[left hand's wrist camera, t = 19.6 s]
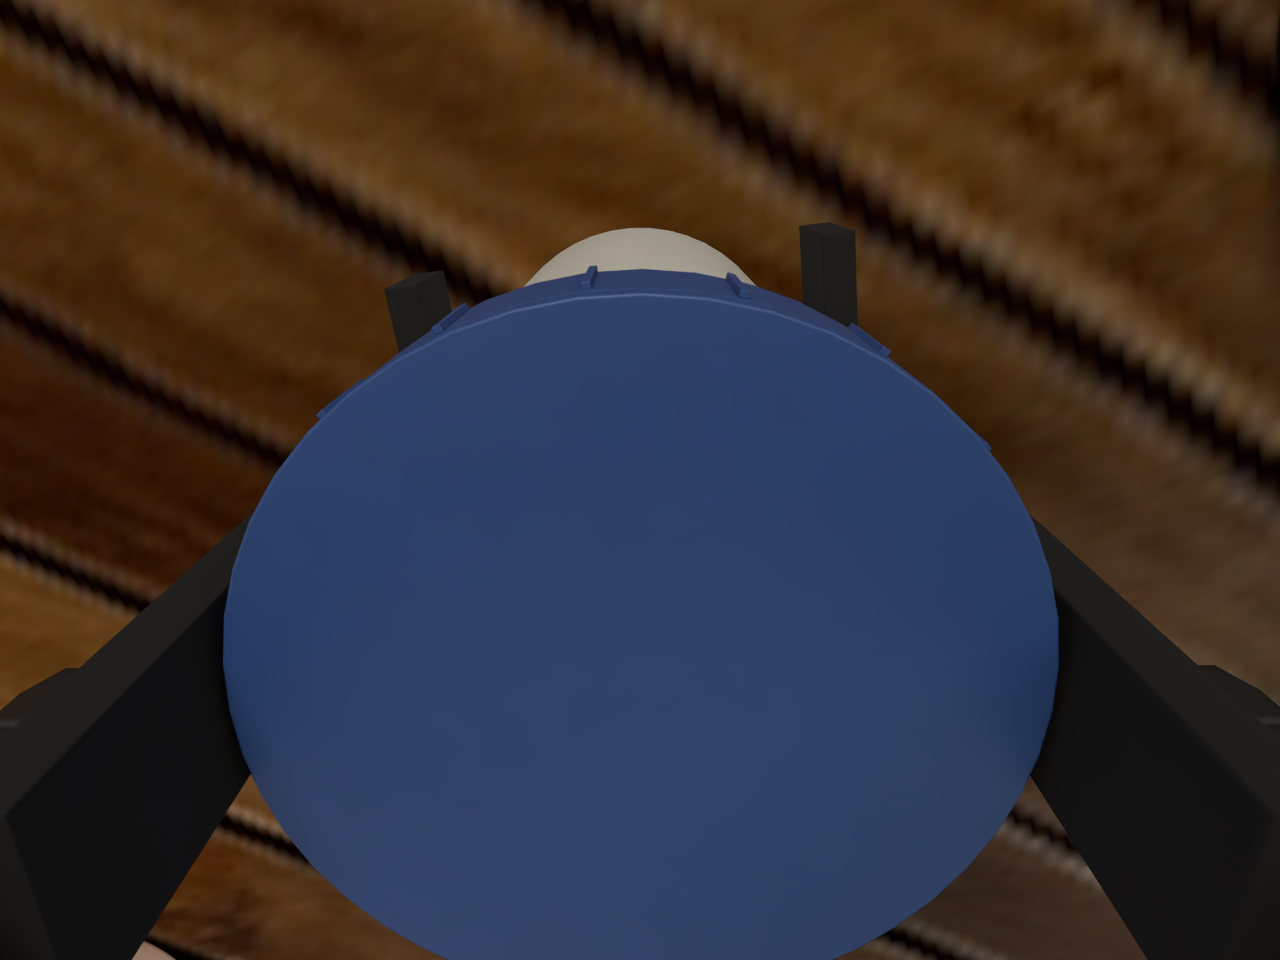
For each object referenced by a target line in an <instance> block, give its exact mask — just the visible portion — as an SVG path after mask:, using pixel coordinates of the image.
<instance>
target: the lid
mask: <svg viewBox="0 0 1280 960" xmlns="http://www.w3.org/2000/svg"><path fill="white" fill-rule="evenodd" d="M890 352H891V351H890V350H889V349H887V348H886V347H884V346H883V345H882V344H880V343H879V342H878V341H876V340H875V339H874V338H872V337H871V336H870V335H868V334H867V333H866V332H864V331H863V330H862V329H860V328H859V327H858V326H856V325H855V324H853V323H851V324H850V326H849V327H848V328H847V327H846V326H844V325H843V324H841V323H839V322H837V321H835V320H833V319H831V318H829V317H827V316H825V315H824V314H822V313H820V312H818V311H816V310H814V309H812V308H810V307H808V306H806V305H804V304H802V303H800V302H799V301H796V300H793V299H790V298H788V297H785V296H782V295H779V294H776V293H774V292H771V291H768V290H765V289H762V288H759V287H757V286H754V285H751V284H748V283H743V282H741V280H740V279H739V278H738V277H737V276H736V275H735V274H733V273H729V272H727V275H726V279H724V278H719V277H715V276H710V275H705V274H700V273H694V272H680V271H666V270H652V269H632V270H616V271H601V272H598V269H597V266H596V265H595V266H589V267H588V269H587V271H586V273H582V274H577V275H572V276H568V277H563V278H558V279H553V280H548V281H543V282H538V283H534V284H531V285H528V286H526V287H523V288H520V289H517V290H514V291H511V292H508V293H505V294H503V295H500V296H497V297H494V298H491V299H488V300H486V301H484V302H482V303H480V304H478V305H476V306H474V307H472V308H470V309H469V307H468V306H467V304H466V303H464V304H462V305H460V306H459V307H457V308H456V309H455V310H454V311H452V312H451V313H450V314H449V315H447V316H446V317H445V318H443V319H442V320H441V321H440V322H438V323H437V324H436V325H435V326H433V327H432V330H431V331H429V332H428V333H427V334H425V335H424V336H422V337H421V338H419V339H418V340H417V341H415V342H414V343H412V344H411V345H410V346H408V347H407V348H405V349H404V350H402V351H401V352H400V353H398V354H397V355H396V356H395V357H393V358H392V359H391V360H389V361H388V362H387V363H386V364H384V365H383V366H382V367H381V368H379V369H378V370H377V371H375V372H374V373H373V374H372V375H370V376H369V377H368V378H366V379H365V380H364V379H361V380H360V381H359V382H357V383H356V384H355V385H353V386H352V387H351V388H349V389H348V390H347V391H346V392H344V393H343V394H342V395H340V396H339V397H338V398H336V399H335V400H334V401H333V402H331V403H330V404H329V405H327V406H326V407H325V408H324V409H322V410H321V411H320V412H319V413H318V414H317V417H318V418H319V419H320V420H319V421H318V422H317V423H316V424H315V425H314V426H313V427H312V428H311V429H310V430H309V431H308V432H307V433H306V435H305V436H304V437H303V439H302V440H301V441H300V442H299V444H298V445H297V446H296V448H295V449H294V450H293V451H292V453H291V454H290V455H289V457H288V458H287V459H286V461H285V462H284V463H283V464H282V466H281V467H280V468H279V470H278V471H277V472H276V474H275V475H274V477H273V479H272V480H271V482H270V484H269V486H268V488H267V490H266V491H265V493H264V495H263V497H262V499H261V501H260V502H259V504H258V506H257V508H256V510H255V512H254V513H253V515H252V517H251V519H250V521H249V524H248V526H247V529H246V532H245V535H244V538H243V540H242V543H241V546H240V549H239V552H238V555H237V557H236V560H235V563H234V566H233V569H232V575H231V580H230V586H229V591H228V597H227V602H226V608H225V613H224V639H223V668H224V675H225V683H226V690H227V697H228V705H229V711H230V714H231V718H232V721H233V725H234V728H235V731H236V735H237V738H238V742H239V745H240V748H241V752H242V755H243V757H244V759H245V761H246V763H247V765H248V768H249V770H250V772H251V774H252V776H253V779H254V781H255V783H256V785H257V787H258V789H259V792H260V794H261V796H262V797H263V799H264V800H265V802H266V803H267V805H268V807H269V808H270V810H271V811H272V813H273V814H274V816H275V818H276V819H277V821H278V822H279V824H280V825H281V827H282V829H283V830H284V832H285V833H286V834H287V836H288V837H289V838H290V839H291V840H292V842H293V843H294V844H295V845H296V846H297V848H298V849H299V850H300V851H301V852H302V854H303V855H304V856H305V857H306V858H307V860H308V861H309V862H310V863H311V864H312V865H313V867H314V868H315V869H316V870H317V871H319V872H320V873H321V874H322V875H323V876H324V877H325V878H326V879H327V880H328V881H329V882H330V883H331V884H332V885H333V886H335V887H336V888H337V889H338V890H339V891H340V892H341V893H342V894H343V895H344V896H345V897H346V898H348V899H349V900H350V901H352V902H353V903H354V904H356V905H357V906H358V907H360V908H361V909H362V910H364V911H365V912H366V913H368V914H369V915H370V916H372V917H373V918H374V919H376V920H377V921H378V922H380V923H381V924H382V925H384V926H386V927H388V928H389V929H391V930H393V931H394V932H396V933H398V934H399V935H401V936H403V937H405V938H406V939H408V940H410V941H411V942H413V943H415V944H416V945H418V946H420V947H422V948H424V949H426V950H428V951H430V952H433V953H435V954H437V955H439V956H441V957H443V958H446V959H448V960H834V959H836V958H838V957H840V956H843V955H845V954H847V953H849V952H852V951H854V950H856V949H858V948H860V947H862V946H863V945H865V944H867V943H869V942H870V941H872V940H874V939H875V938H877V937H879V936H881V935H882V934H884V933H886V932H888V931H889V930H891V929H893V928H894V927H896V926H898V925H899V924H901V923H902V922H903V921H905V920H906V919H907V918H909V917H910V916H911V915H913V914H914V913H915V912H917V911H918V910H919V909H921V908H922V907H924V906H925V905H926V904H928V903H929V902H930V901H932V900H933V899H934V898H935V897H936V896H938V895H939V894H940V893H941V892H942V891H943V890H944V889H945V888H946V887H947V886H948V885H949V884H950V883H952V882H953V881H954V880H955V879H956V878H957V877H958V876H959V875H960V874H961V873H962V872H963V871H964V870H966V869H967V867H968V866H969V865H970V864H971V863H972V862H973V860H974V859H975V858H976V857H977V856H978V854H979V853H980V852H981V851H982V850H983V849H984V847H985V846H986V845H987V844H988V843H989V841H990V840H991V839H992V838H993V837H994V835H995V834H996V833H997V831H998V830H999V828H1000V827H1001V825H1002V824H1003V822H1004V820H1005V819H1006V817H1007V816H1008V814H1009V813H1010V811H1011V810H1012V808H1013V806H1014V805H1015V803H1016V802H1017V800H1018V799H1019V797H1020V795H1021V793H1022V791H1023V789H1024V787H1025V785H1026V782H1027V780H1028V778H1029V776H1030V774H1031V772H1032V770H1033V768H1034V765H1035V763H1036V761H1037V759H1038V757H1039V754H1040V751H1041V748H1042V744H1043V741H1044V738H1045V734H1046V731H1047V728H1048V725H1049V721H1050V718H1051V715H1052V710H1053V703H1054V697H1055V690H1056V683H1057V676H1058V669H1059V638H1058V614H1057V608H1056V603H1055V597H1054V591H1053V585H1052V580H1051V574H1050V569H1049V566H1048V563H1047V560H1046V558H1045V555H1044V552H1043V549H1042V546H1041V543H1040V540H1039V537H1038V534H1037V531H1036V529H1035V526H1034V523H1033V521H1032V519H1031V517H1030V515H1029V513H1028V512H1027V510H1026V508H1025V506H1024V504H1023V502H1022V500H1021V498H1020V497H1019V495H1018V493H1017V491H1016V489H1015V487H1014V485H1013V484H1012V482H1011V480H1010V478H1009V476H1008V475H1007V474H1006V472H1005V471H1004V470H1003V468H1002V467H1001V466H1000V464H999V463H998V462H997V460H996V459H995V458H994V457H993V455H992V454H991V453H990V450H991V447H990V446H989V444H988V443H987V442H986V441H985V440H983V439H982V438H981V437H980V436H978V435H977V434H976V433H975V432H974V431H973V430H972V429H971V428H970V427H969V426H968V425H967V424H966V423H965V422H964V421H963V420H962V419H961V418H960V417H959V416H958V415H956V414H955V413H954V412H953V411H952V410H951V409H950V408H949V407H948V406H947V405H946V404H945V403H944V402H943V401H942V400H941V399H940V398H939V397H938V396H937V395H936V394H935V393H933V392H932V391H931V390H930V389H928V388H927V387H926V386H924V385H923V384H922V383H921V382H919V381H918V380H917V379H915V378H914V377H913V376H912V375H910V374H909V373H908V372H906V371H905V370H904V369H903V368H901V367H900V366H899V365H897V364H896V363H895V362H894V361H892V360H891V359H890V358H889V357H888V355H889V354H890Z"/></svg>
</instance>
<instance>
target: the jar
mask: <svg viewBox="0 0 1280 960" xmlns="http://www.w3.org/2000/svg"><path fill="white" fill-rule="evenodd" d="M595 265H596V266H597V269H598V272H601V271H616V270H632V269H652V270H666V271H680V272H694V273H700V274H705V275H710V276H715V277H719V278H724V279H726V275H727V272H729V273H733V274H735V275H736V276H737V277H738V278H739V279H740V280H741V282H743V283H748V284H751V285H754V286H756V285H755V284H754V283H753V282H752V281H751V280H750V279H749V278H748V277H747V276H746V275H745V274H744V273H743V272H742V270H741V269H740V268H739V267H738V266H737V265H736V264H734V263H733V262H732V261H731V260H729V259H728V258H727V257H726V256H724V255H723V254H722V253H720V252H719V251H717V250H715V249H714V248H712V247H710V246H709V245H707V244H705V243H703V242H701V241H699V240H696V239H694V238H691V237H689V236H687V235H683V234H679V233H676V232H672V231H668V230H660V229H653V228H628V229H621V230H614V231H609V232H605V233H602V234H598V235H595V236H591V237H589V238H587V239H585V240H582V241H580V242H578V243H576V244H574V245H572V246H570V247H569V248H567V249H565V250H564V251H562V252H561V253H559V254H557V255H556V256H555V257H554V258H553V259H551V260H550V261H549V262H548V263H547V264H545V265H544V266H543V267H542V268H541V269H540V270H539V271H538V272H537V273H536V274H535V275H534V276H533V278H532V279H531V280H530V281H529V282H528V283H527V284H526V285H525V286H524V287H526V286H528V285H531V284H534V283H538V282H543V281H548V280H553V279H558V278H563V277H568V276H572V275H577V274H582V273H586V271H587V269H588V267H589V266H595Z"/></svg>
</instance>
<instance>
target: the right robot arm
mask: <svg viewBox="0 0 1280 960" xmlns="http://www.w3.org/2000/svg"><path fill="white" fill-rule="evenodd" d="M799 227H800V248H801V269H802V290H803V304H804V305H806V306H808V307H810V308H812V309H814V310H816V311H818V312H820V313H822V314H824V315H825V316H827V317H829V318H831V319H833V320H835V321H837V322H839V323H841V324H843V325H844V326H846V327H847V328H848V327H849V326H850V324H851V323H853V324H855V325H856V326H857V292H856V250H855V230H852V229H849V228H846V227H843V226H839V225H836V224H833V223H830V222H827V223H819V224H811V225H803V226H799ZM385 293H386V297H387V302H388V306H389V310H390V315H391V319H392V323H393V328H394V332H395V336H396V341H397V345H398V349H399V353H400V352H401V351H402V350H404V349H405V348H407V347H408V346H410V345H411V344H412V343H414V342H415V341H417V340H418V339H419V338H421V337H422V336H424V335H425V334H427V333H428V332H429V331H431V330H432V327H433V326H435V325H436V324H437V323H438V322H440V321H441V320H442V319H443V318H445V317H446V316H447V315H449V314H450V313H451V312H452V311H451V306H450V302H449V297H448V292H447V287H446V282H445V277H444V272H443V271H437V272H429V273H421V274H414V275H412V276H410V277H408V278H406V279H404V280H402V281H400V282H398V283H396V284H394V285H392V286H390V287H388V288H386V289H385Z"/></svg>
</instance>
